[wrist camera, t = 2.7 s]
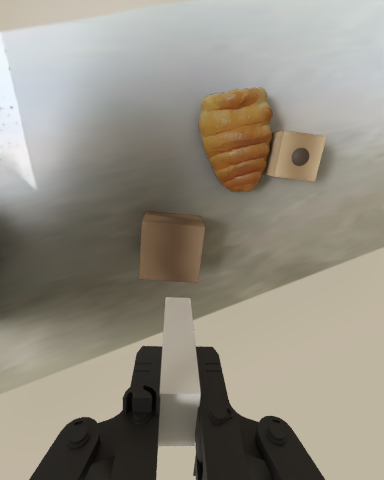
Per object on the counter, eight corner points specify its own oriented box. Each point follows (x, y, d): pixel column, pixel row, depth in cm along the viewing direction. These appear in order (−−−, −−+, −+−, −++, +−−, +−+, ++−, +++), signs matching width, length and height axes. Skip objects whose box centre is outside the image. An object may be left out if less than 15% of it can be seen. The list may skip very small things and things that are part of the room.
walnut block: (143, 260, 30) (138, 279, 26) (146, 210, 28) (141, 221, 24) (194, 264, 31) (197, 282, 26) (200, 215, 29) (205, 226, 25)
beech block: (260, 173, 28) (274, 176, 24) (268, 133, 26) (284, 130, 23) (295, 177, 28) (315, 181, 24) (305, 138, 27) (327, 136, 23)
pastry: (269, 183, 28) (284, 188, 24) (208, 196, 28) (215, 203, 24) (261, 85, 25) (278, 75, 21) (192, 99, 24) (197, 91, 21)
